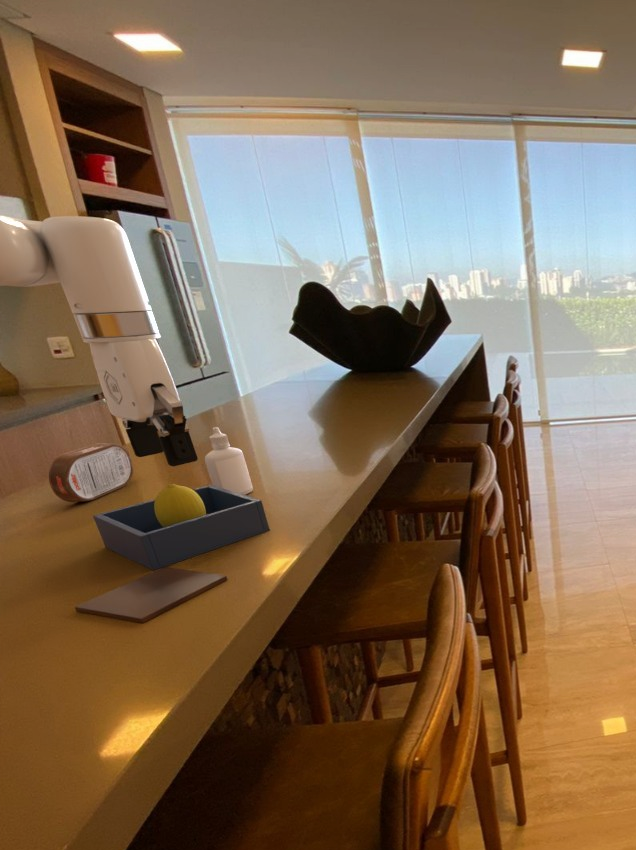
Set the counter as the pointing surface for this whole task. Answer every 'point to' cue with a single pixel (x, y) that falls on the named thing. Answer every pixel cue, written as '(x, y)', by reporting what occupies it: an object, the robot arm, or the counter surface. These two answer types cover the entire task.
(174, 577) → the coaster
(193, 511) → the lemon
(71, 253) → the robot arm
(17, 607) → the counter surface
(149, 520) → the tote
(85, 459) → the tin
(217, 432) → the eye dropper bottle
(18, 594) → the counter surface
